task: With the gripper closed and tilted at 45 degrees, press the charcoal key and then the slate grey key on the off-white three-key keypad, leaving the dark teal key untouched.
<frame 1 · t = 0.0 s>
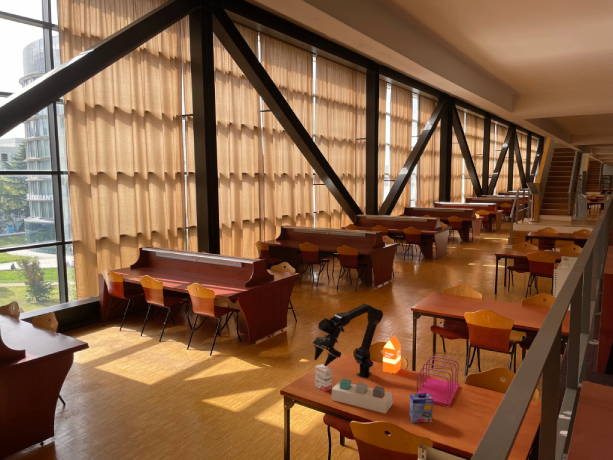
hand: (319, 363, 257), 15 cm above the table, tool tilted 35°, fingers open, 9 cm apart
teal key: (345, 384, 248), point 8 cm above the table, slide at 0.0 cm
slate key: (361, 388, 244), point 8 cm above the table, slide at 0.0 cm
charcoal key: (378, 392, 240), point 8 cm above the table, slide at 0.0 cm
keypad: (361, 402, 245), on the table
orange juice: (391, 370, 283), on the table
ink box: (323, 388, 261), on the table
ink cartridge box: (420, 420, 228), on the table
file sorter: (437, 393, 255), on the table
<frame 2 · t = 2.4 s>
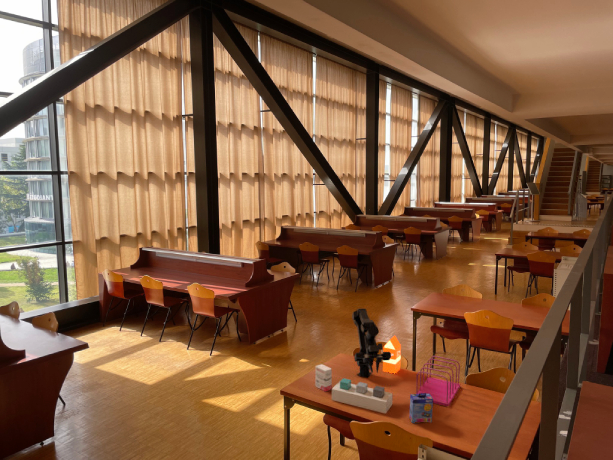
hand: (374, 372, 248), 14 cm above the table, tool tilted 45°, fingers closed
nothing on the table moved.
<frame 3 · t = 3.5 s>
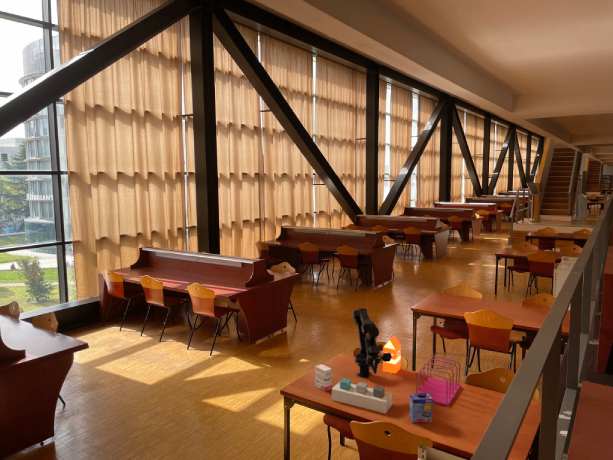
hand: (375, 373, 247), 13 cm above the table, tool tilted 45°, fingers closed
nothing on the table moved.
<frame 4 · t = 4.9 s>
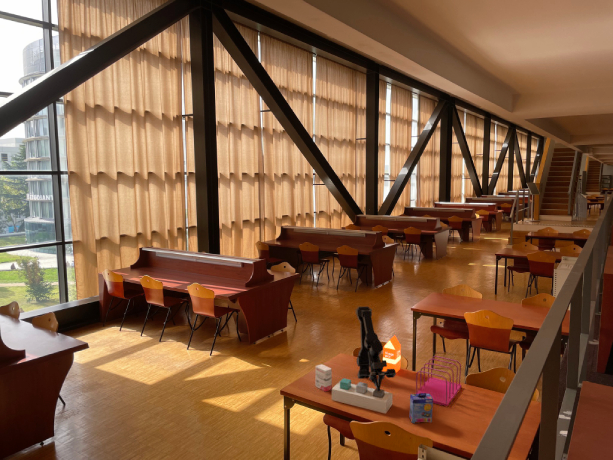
hand: (378, 390, 240), 8 cm above the table, tool tilted 45°, fingers closed, pressing on charcoal key
charcoal key: (378, 394, 240), point 6 cm above the table, slide at 1.4 cm, touching gripper
everything else where it was.
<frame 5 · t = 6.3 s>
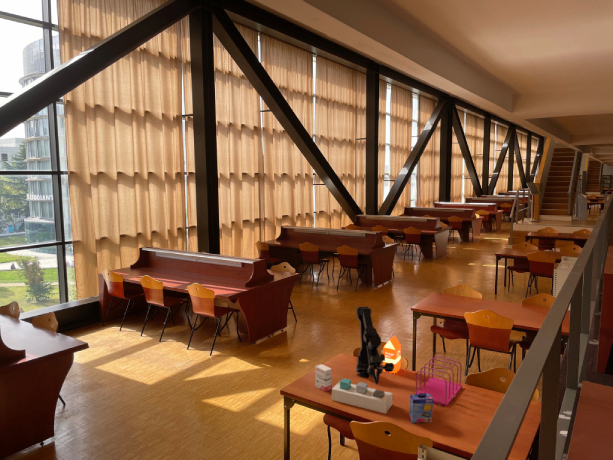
hand: (376, 384, 240), 11 cm above the table, tool tilted 45°, fingers closed
charcoal key: (378, 396, 240), point 5 cm above the table, slide at 2.0 cm
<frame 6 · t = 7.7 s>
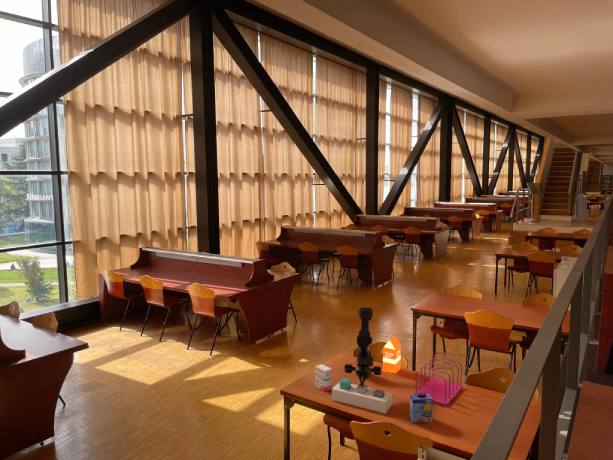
hand: (362, 386, 244), 9 cm above the table, tool tilted 45°, fingers closed, pressing on slate key
slate key: (361, 390, 244), point 6 cm above the table, slide at 1.1 cm, touching gripper
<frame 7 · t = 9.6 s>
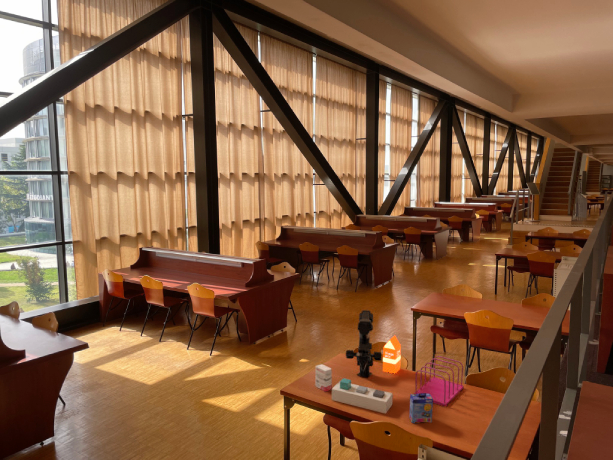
hand: (362, 371, 251), 13 cm above the table, tool tilted 45°, fingers closed
slate key: (361, 392, 244), point 5 cm above the table, slide at 2.0 cm
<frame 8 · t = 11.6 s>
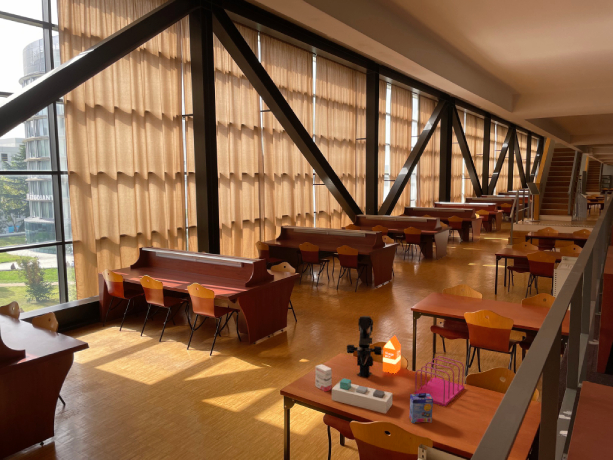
hand: (363, 365, 257), 14 cm above the table, tool tilted 45°, fingers closed
at the end: charcoal key slide at 2.0 cm; slate key slide at 2.0 cm; teal key slide at 0.0 cm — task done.
